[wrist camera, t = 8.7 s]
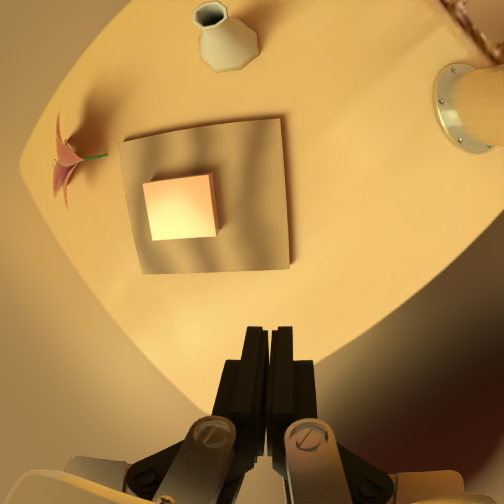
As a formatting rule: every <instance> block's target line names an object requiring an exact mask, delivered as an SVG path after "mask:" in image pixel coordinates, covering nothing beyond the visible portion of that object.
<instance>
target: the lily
mask: <svg viewBox="0 0 504 504" xmlns="http://www.w3.org/2000/svg"><path fill="white" fill-rule="evenodd" d="M56 135H57V139H56V146H57V156H58V161H57V160H56V159H55V160H56V161H57V162H56V164H52V165H53V166H55V167H54V172H53V192H54V198H55V197H56V195H57V193H58V192H59V191H60V189H61V188H62V187H63V193H64V199H65V204H66V207H67V210H68V206H67V194H66V190H67V182H68V180H69V177H70V175H71V173H72V172H73V170H74V168H75V167H76V165H77V164H78V163H79V162H80V161H86V160H91V159H96V158H100V157H105V156H108V154H104V155H100V156H95V157H90V158H83V159H81V158H79V157H78V156H77V155H76V154H75V153H74V152H73V151H72V150H71V149H70V148H69V147H68V146H67V145H68V139H65V141H64V142H65V144H66V145H65V144H64V143H63V142H62V139H61V136H60V129H59V112H58V117H57V124H56ZM53 166H52V167H53Z"/></svg>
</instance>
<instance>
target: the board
mask: <svg viewBox="0 0 504 504" xmlns="http://www.w3.org/2000/svg"><path fill="white" fill-rule="evenodd" d="M118 149H119V157H120V164H121V171H122V177H123V184H124V190H125V196H126V201H127V207H128V212H129V217H130V222H131V227H132V232H133V236H134V241H135V245H136V250H137V254H138V258H139V262H140V266H141V270H142V274H176V273H208V272H235V271H260V270H282V269H290V261H289V239H288V221H287V204H286V188H285V174H284V161H283V148H282V136H281V125H280V118H279V119H265V120H253V121H243V122H234V123H225V124H217V125H210V126H203V127H197V128H190V129H184V130H179V131H173V132H168V133H163V134H158V135H153V136H148V137H143V138H139V139H135V140H130V141H126V142H122V143H118ZM205 173H213V181H214V190H215V198H216V206H217V214H218V222H219V230H220V231H219V233H218V234H217V236H212V237H197V238H182V239H167V240H154V241H153V239H152V234H151V229H150V224H149V218H148V213H147V207H146V202H145V196H144V190H143V183H146V182H148V181H153V180H160V179H166V178H174V177H181V176H189V175H197V174H205Z"/></svg>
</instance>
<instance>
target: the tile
mask: <svg viewBox="0 0 504 504" xmlns="http://www.w3.org/2000/svg"><path fill="white" fill-rule="evenodd" d="M143 190H144V196H145V202H146V207H147V213H148V218H149V224H150V229H151V234H152V239H153V241H154V240H167V239H182V238H197V237H212V236H217V234H218V233H219V231H220V230H219V222H218V214H217V206H216V198H215V190H214V181H213V173H205V174H197V175H189V176H181V177H174V178H166V179H160V180H153V181H148V182H146V183H143Z"/></svg>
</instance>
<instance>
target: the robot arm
mask: <svg viewBox="0 0 504 504" xmlns="http://www.w3.org/2000/svg"><path fill="white" fill-rule="evenodd" d="M439 102H440V103H439ZM433 103H434V108H435V113H436V116H437V119H438V121H439V123H440V126H441V128H442V130H443V131H444V133H445V134H446V136H447V137H448V138H449V139H450V141H451V142H452V143H453V144H454V145H456V146H457V147H458V148H459V149H461V150H463V151H465V152H468V153H473V154H483V153H486V152H488V151H490V150H491V149H492V148H493V147H494V146H495V145H497V146H503V147H504V64H502V65H497V66H492V67H488V68H483V69H479V70H477V69H476V68H474V67H472V66H470V65H468V64H463V63H454V64H451V65H448V66H447V67H445V68H443V69H442V70H441V71H440V72H439V74H438V76H437V78H436V80H435V84H434V89H433ZM313 367H314V366H313V360H299V361H293V330H292V326H282V327H278V330H272V339H271V352H270V365H269V345H268V330H263V329H262V327H254V326H248V327H247V331H246V336H245V341H244V346H243V351H242V356H241V360H226V361H225V365H224V368H223V372H222V376H221V380H220V384H219V388H218V392H217V396H216V399H215V403H214V407H213V411H212V415H211V416H206V417H203V418H201V419H198V420H197V421H196V422H194V423H193V425H192V426H191V427H190V429H189V431H188V433H187V435H186V437H185V439H184V440H183V441H181V442H178V443H177V444H174V445H172V446H171V447H168V448H166V449H164V450H162V451H160V452H158V453H156V454H154V455H151V456H149V457H147V458H145V459H143V460H140V461H138V462H136V463H134V464H127V463H126V462H125V461H115V460H106V459H99V458H92V457H85V456H75V457H73V458H71V459H70V460H69V461H68V462H67V464H66V465H65V469H64V472H61V471H56V470H46V469H41V470H32V471H29V472H27V473H25V474H24V475H23V476H21V477H20V478H19V480H18V481H17V482H16V484H15V485H14V486H13V488H12V489H11V491H10V492H9V494H8V496H7V498H6V500H5V501H4V503H3V504H235V502H236V500H237V497H238V494H239V491H240V488H241V485H242V482H243V480H244V477H245V473H246V472H248V471H249V470H251V469H252V468H253V467H254V463H257V456H263V453H264V443H265V433H266V431H267V450H268V456H272V461H273V462H272V463H273V469H274V470H275V471H276V472H278V473H279V474H280V475H281V476H282V477H283V486H284V494H285V501H286V504H497V502H496V501H495V500H494V499H493V498H492V497H490V496H487V495H484V494H476V493H464V491H463V490H464V487H463V479H462V477H461V475H460V474H459V473H457V472H455V471H451V470H445V471H434V472H418V473H399V474H398V475H388V474H386V473H385V472H383V471H382V470H380V469H378V468H376V467H375V466H373V465H371V464H370V463H368V462H366V461H365V460H363V459H361V458H360V457H358V456H357V455H355V454H354V453H352V452H350V451H349V450H347V449H346V448H344V447H343V446H341V445H340V444H338V443H337V442H336V441H335V438H334V434H333V432H332V430H331V428H330V427H329V426H328V425H327V424H326V423H325V422H323V421H321V420H318V419H317V405H316V390H315V378H314V368H313Z"/></svg>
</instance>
